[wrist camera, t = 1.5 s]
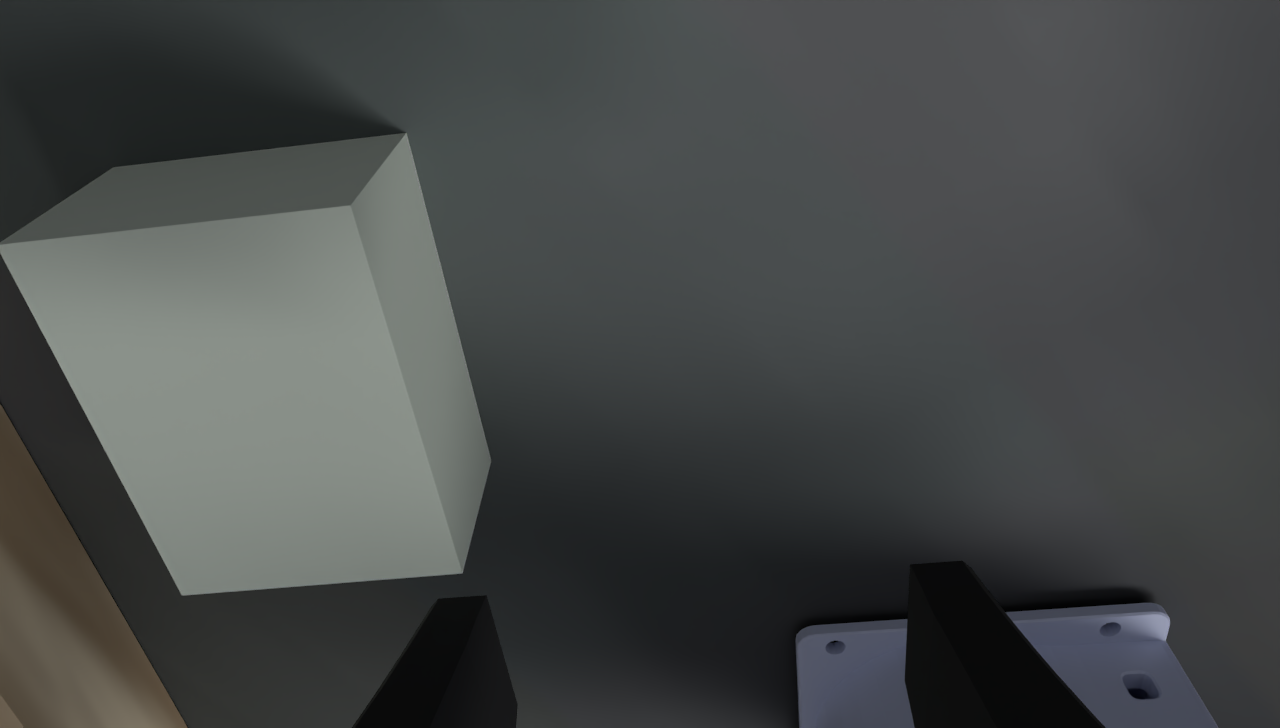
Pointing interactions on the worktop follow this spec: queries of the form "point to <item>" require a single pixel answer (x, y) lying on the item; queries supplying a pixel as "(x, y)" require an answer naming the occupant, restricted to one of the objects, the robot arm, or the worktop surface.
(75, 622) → the birch board
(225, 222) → the sage block
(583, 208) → the worktop surface
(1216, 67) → the worktop surface
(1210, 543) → the worktop surface
